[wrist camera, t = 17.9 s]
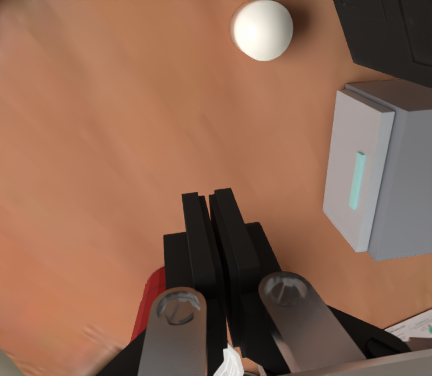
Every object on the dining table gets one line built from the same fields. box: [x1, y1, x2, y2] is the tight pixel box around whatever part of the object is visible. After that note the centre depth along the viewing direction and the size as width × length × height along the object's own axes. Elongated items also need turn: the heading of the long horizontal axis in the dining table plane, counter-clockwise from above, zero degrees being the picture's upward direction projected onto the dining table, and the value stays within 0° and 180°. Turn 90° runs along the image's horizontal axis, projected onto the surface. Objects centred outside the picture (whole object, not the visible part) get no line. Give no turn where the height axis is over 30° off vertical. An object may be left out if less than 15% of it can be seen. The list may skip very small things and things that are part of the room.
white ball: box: [230, 0, 293, 61], centre depth 28 cm, size 4×4×4 cm
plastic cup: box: [129, 267, 244, 376], centre depth 35 cm, size 11×11×12 cm
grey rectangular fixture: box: [323, 89, 395, 252], centre depth 33 cm, size 12×14×7 cm
